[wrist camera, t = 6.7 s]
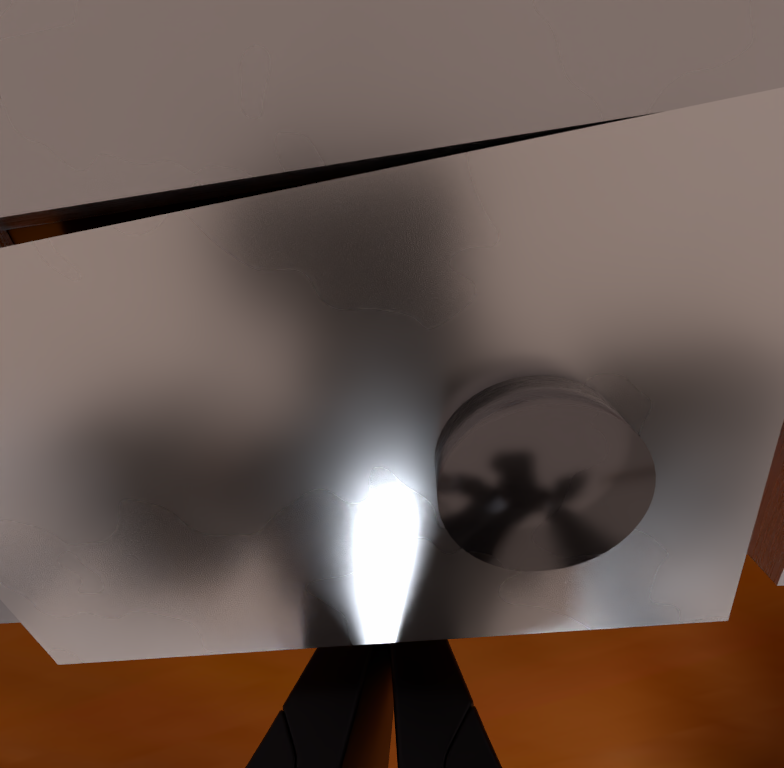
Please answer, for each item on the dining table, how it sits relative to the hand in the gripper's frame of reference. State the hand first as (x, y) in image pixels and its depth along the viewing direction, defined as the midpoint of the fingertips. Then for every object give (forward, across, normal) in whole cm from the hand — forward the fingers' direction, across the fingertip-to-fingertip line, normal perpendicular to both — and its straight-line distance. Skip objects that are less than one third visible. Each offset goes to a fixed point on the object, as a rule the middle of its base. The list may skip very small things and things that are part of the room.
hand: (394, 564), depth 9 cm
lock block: (+2, 0, -4) cm, 5 cm away
